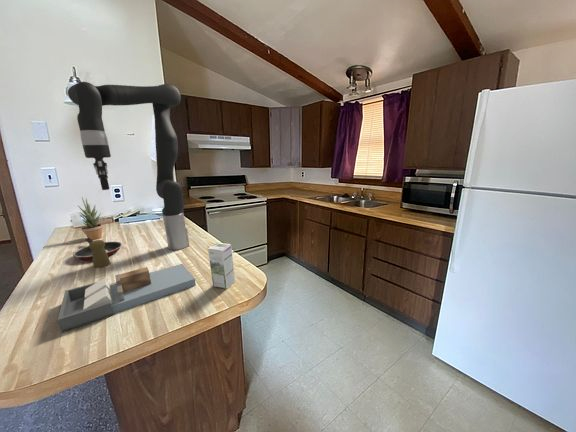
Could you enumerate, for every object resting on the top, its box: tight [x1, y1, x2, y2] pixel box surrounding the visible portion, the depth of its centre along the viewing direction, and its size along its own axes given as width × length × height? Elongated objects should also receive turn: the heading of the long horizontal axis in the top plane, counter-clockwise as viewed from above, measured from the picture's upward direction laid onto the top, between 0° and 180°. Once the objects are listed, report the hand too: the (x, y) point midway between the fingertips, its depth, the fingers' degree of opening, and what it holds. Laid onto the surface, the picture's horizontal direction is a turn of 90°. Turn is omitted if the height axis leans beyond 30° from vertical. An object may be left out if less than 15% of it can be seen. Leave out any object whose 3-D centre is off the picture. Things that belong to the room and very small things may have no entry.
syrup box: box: [207, 242, 236, 290], centre depth 83 cm, size 6×6×14 cm
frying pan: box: [72, 237, 123, 261], centre depth 119 cm, size 19×32×4 cm, turn 50°
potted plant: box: [77, 196, 104, 241], centre depth 135 cm, size 10×10×25 cm
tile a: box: [83, 287, 113, 310], centre depth 71 cm, size 6×6×3 cm
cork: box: [88, 239, 112, 269], centre depth 102 cm, size 6×6×11 cm
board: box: [111, 263, 196, 314], centre depth 83 cm, size 24×16×2 cm, turn 128°
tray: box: [57, 278, 114, 334], centre depth 73 cm, size 11×18×4 cm, turn 38°
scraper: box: [114, 266, 151, 301], centre depth 79 cm, size 9×14×5 cm, turn 38°
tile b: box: [85, 277, 112, 299], centre depth 77 cm, size 6×6×3 cm
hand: (105, 188), depth 91 cm, fingers open, 8 cm apart
